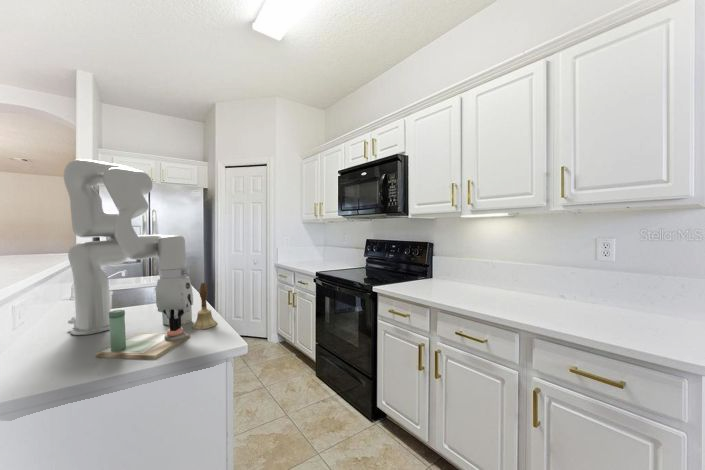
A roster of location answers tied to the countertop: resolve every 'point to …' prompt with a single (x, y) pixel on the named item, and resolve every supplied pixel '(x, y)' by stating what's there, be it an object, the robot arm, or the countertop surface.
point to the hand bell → (204, 312)
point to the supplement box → (184, 318)
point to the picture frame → (146, 346)
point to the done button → (175, 332)
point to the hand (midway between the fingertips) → (175, 329)
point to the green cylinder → (117, 330)
